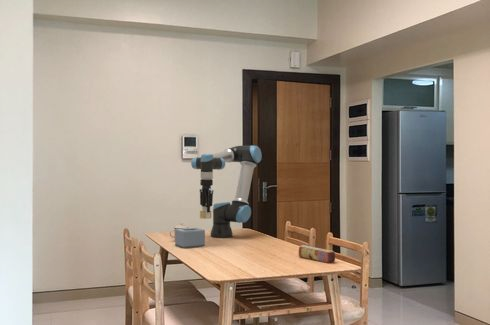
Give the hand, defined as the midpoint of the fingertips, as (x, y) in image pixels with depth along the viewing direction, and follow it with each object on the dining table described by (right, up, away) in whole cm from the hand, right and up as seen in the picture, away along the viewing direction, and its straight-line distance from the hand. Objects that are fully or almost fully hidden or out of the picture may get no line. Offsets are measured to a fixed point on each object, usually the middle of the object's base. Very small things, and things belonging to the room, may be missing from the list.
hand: (206, 217), depth 314 cm
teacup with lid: (-18, -17, +14) cm, 29 cm away
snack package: (+62, -18, -44) cm, 78 cm away
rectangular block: (0, -1, 0) cm, 1 cm away
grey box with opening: (-9, -17, -4) cm, 20 cm away
